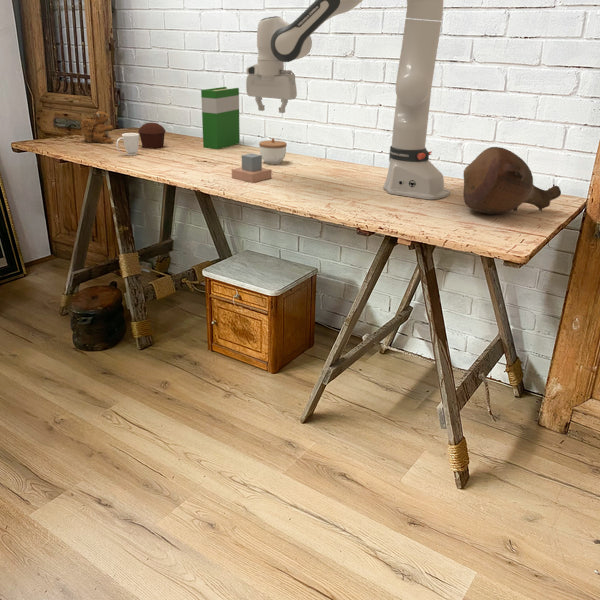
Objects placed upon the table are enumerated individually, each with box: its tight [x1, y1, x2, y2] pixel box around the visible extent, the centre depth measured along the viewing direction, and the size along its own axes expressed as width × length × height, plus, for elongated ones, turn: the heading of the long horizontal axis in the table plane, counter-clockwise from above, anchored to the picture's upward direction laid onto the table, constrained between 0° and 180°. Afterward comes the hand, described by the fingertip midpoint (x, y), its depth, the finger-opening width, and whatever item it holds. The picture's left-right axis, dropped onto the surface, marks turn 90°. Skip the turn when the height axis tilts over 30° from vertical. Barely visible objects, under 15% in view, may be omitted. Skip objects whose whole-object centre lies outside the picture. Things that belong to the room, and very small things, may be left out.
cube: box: [241, 152, 263, 172], centre depth 220 cm, size 5×5×5 cm
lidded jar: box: [258, 137, 287, 165], centre depth 245 cm, size 11×11×9 cm
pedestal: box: [231, 166, 272, 184], centre depth 221 cm, size 10×10×3 cm
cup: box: [115, 132, 140, 156], centre depth 252 cm, size 7×10×8 cm
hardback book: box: [200, 86, 241, 150], centre depth 272 cm, size 18×7×24 cm, turn 152°
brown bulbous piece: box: [462, 146, 562, 215], centre depth 185 cm, size 20×20×30 cm
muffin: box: [137, 122, 167, 150], centre depth 268 cm, size 12×11×10 cm
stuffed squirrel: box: [80, 110, 114, 144], centre depth 275 cm, size 10×14×13 cm
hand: (271, 111), depth 216 cm, fingers open, 8 cm apart
